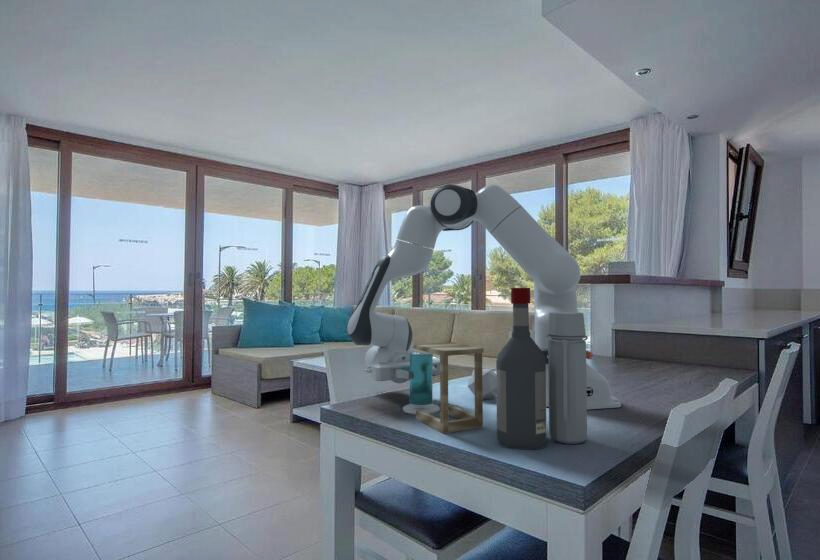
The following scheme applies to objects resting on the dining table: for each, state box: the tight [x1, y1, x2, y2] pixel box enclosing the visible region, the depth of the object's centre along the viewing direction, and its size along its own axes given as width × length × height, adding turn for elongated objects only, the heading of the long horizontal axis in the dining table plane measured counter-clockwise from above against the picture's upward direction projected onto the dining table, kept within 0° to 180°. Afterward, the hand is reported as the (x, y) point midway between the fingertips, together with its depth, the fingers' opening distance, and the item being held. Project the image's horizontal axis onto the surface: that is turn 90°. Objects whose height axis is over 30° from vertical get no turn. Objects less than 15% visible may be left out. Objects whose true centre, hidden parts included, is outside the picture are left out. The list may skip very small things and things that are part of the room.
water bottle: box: [546, 311, 589, 445], centre depth 92 cm, size 9×8×25 cm
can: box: [409, 350, 434, 405], centre depth 116 cm, size 6×6×12 cm
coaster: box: [402, 403, 440, 416], centre depth 116 cm, size 9×9×1 cm
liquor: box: [495, 287, 547, 451], centre depth 92 cm, size 9×9×30 cm
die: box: [467, 368, 497, 400], centre depth 129 cm, size 8×9×10 cm
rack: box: [414, 341, 484, 434], centre depth 105 cm, size 13×10×17 cm
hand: (422, 374), depth 115 cm, fingers closed on can, 6 cm apart
